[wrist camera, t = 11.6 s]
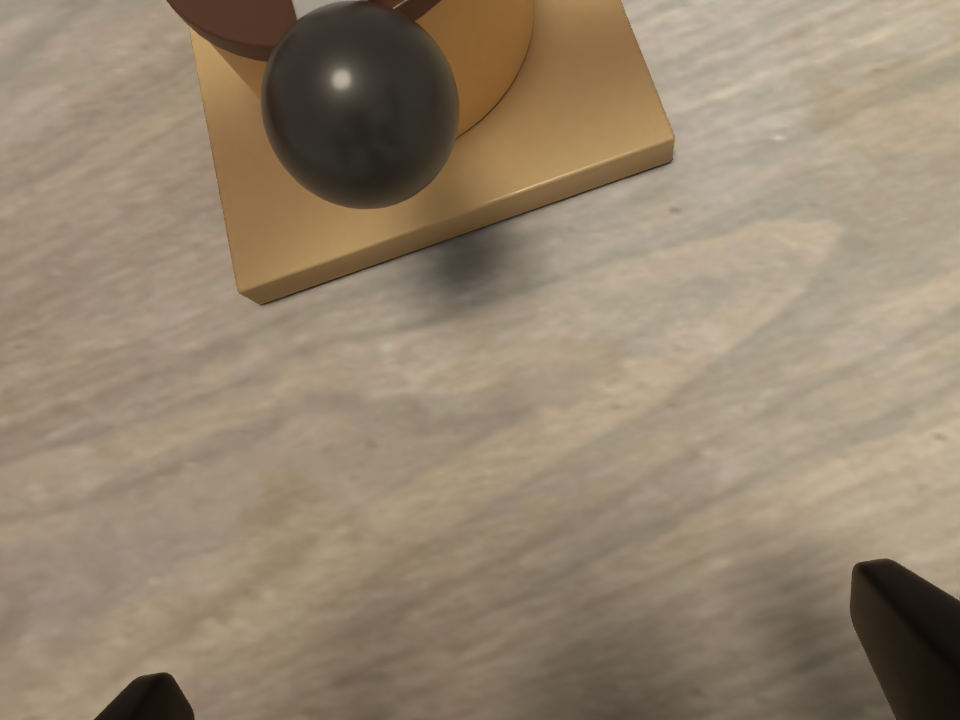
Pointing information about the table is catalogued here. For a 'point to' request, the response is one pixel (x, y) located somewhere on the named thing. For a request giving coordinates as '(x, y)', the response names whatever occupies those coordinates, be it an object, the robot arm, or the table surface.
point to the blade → (359, 103)
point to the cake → (431, 3)
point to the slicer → (469, 169)
